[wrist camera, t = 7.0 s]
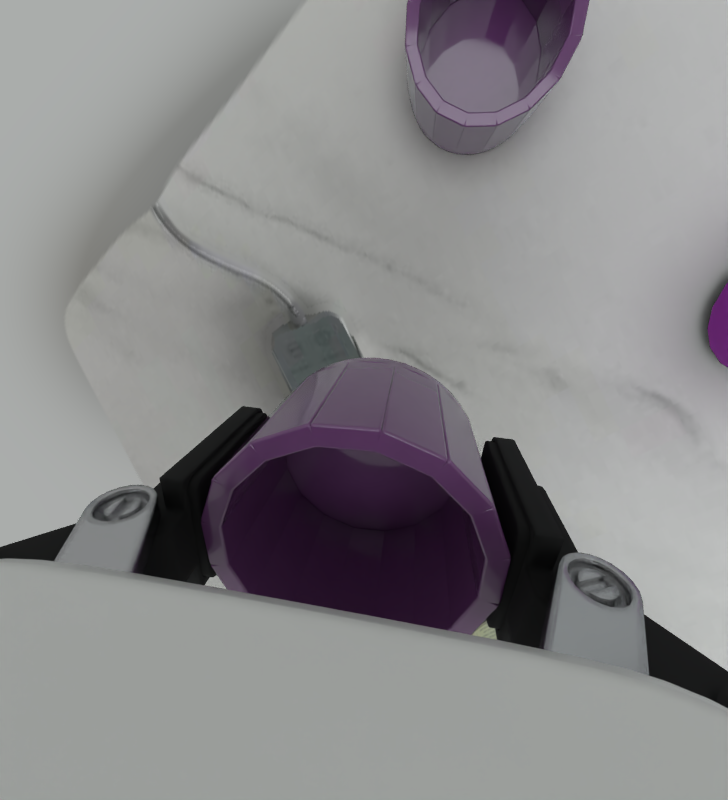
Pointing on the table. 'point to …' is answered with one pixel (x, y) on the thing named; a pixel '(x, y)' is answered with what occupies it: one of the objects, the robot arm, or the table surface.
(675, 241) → the table surface
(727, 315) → the beverage can
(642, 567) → the table surface
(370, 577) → the dish middle
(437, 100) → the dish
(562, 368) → the table surface
